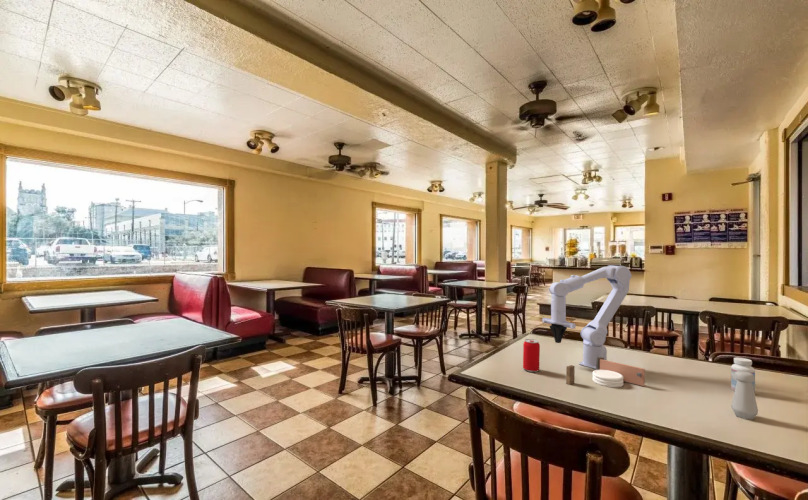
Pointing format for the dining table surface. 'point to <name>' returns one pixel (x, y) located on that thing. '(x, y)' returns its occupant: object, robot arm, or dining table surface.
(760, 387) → the dining table surface
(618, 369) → the door
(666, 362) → the dining table surface
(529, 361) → the beverage can
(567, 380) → the wall frame
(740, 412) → the salt shaker
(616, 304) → the robot arm
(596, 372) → the white short cylinder
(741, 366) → the pill bottle
